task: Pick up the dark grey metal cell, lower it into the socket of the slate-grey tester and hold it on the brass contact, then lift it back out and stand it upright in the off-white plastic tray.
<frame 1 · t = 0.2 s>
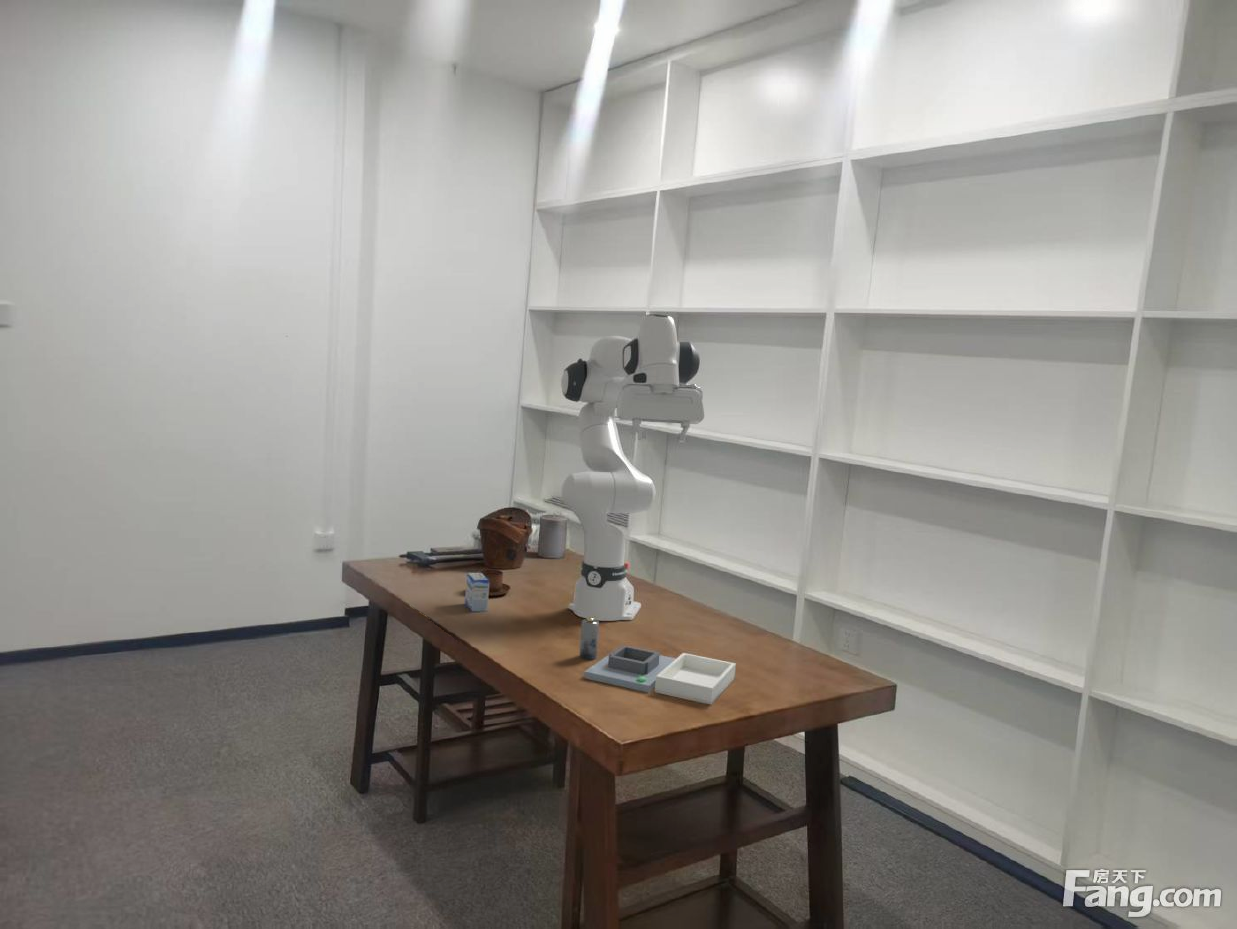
hand: (661, 440, 199), 51 cm above the table, tool tilted 20°, fingers open, 8 cm apart
tester cradle: (633, 671, 198), on the table
cell: (588, 657, 205), on the table
pillar candle: (551, 556, 308), on the table
medicine box: (476, 608, 238), on the table
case: (502, 565, 289), on the table
cup and saucer: (488, 594, 254), on the table
tray: (695, 685, 192), on the table
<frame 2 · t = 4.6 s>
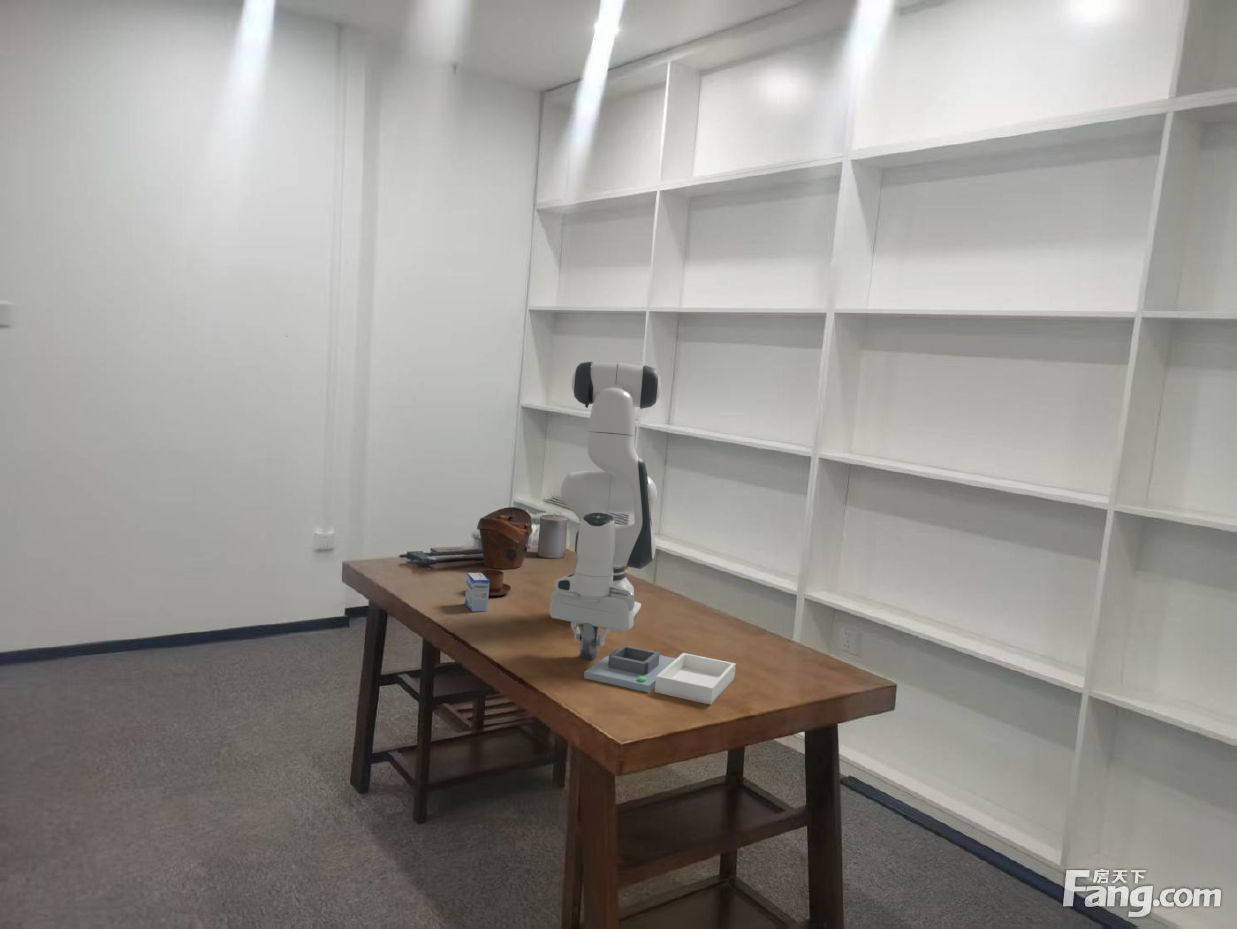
hand: (589, 642, 205), 3 cm above the table, tool pointing down, fingers closed on cell, 4 cm apart
cell: (588, 657, 205), on the table, touching gripper
everything else where it was.
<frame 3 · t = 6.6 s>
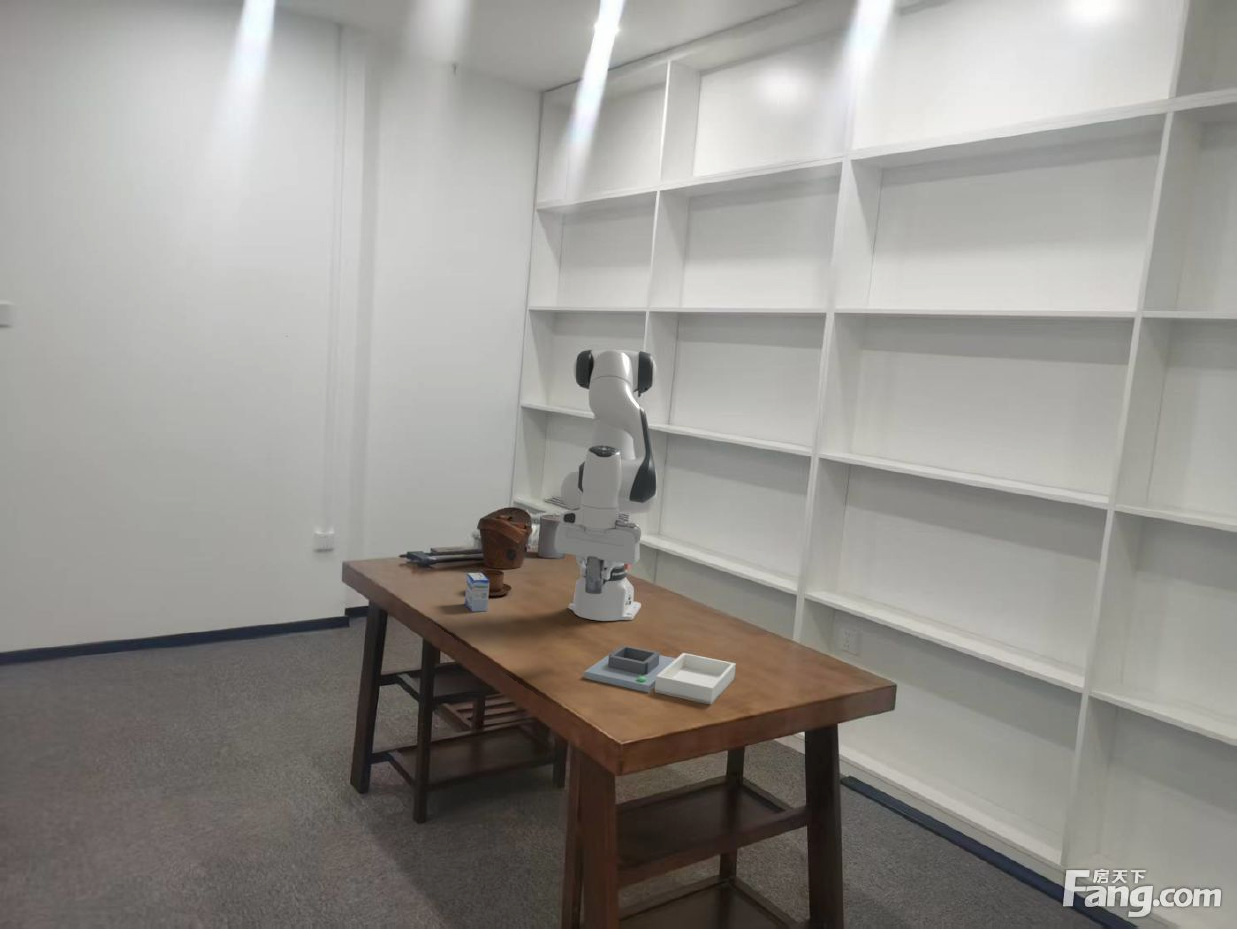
hand: (594, 577, 203), 19 cm above the table, tool pointing down, fingers closed on cell, 4 cm apart
cell: (593, 591, 203), point 16 cm above the table, touching gripper
everything else where it was.
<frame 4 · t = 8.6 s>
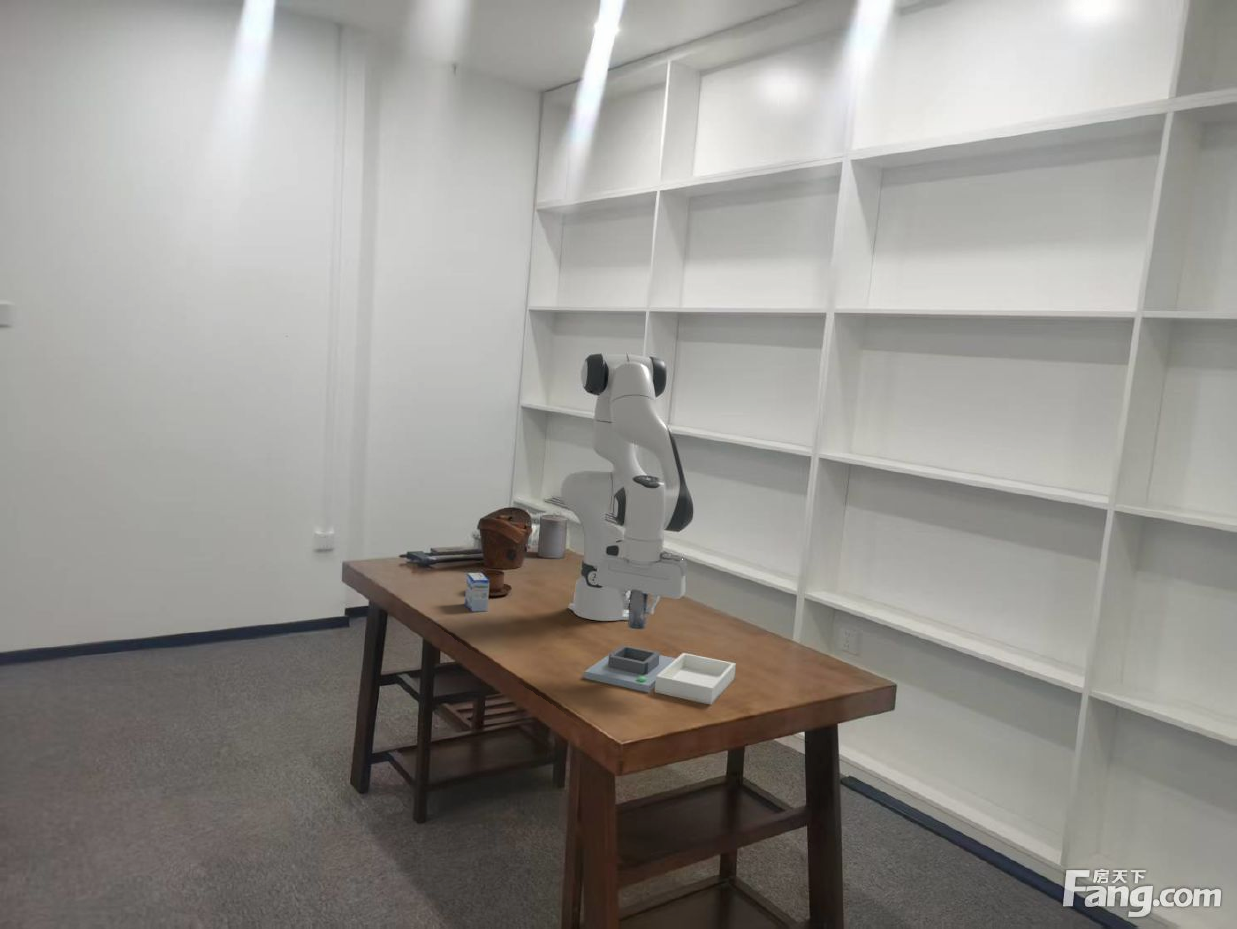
hand: (638, 611, 196), 14 cm above the table, tool pointing down, fingers closed on cell, 4 cm apart
cell: (636, 626, 196), point 10 cm above the table, touching gripper
everything else where it was.
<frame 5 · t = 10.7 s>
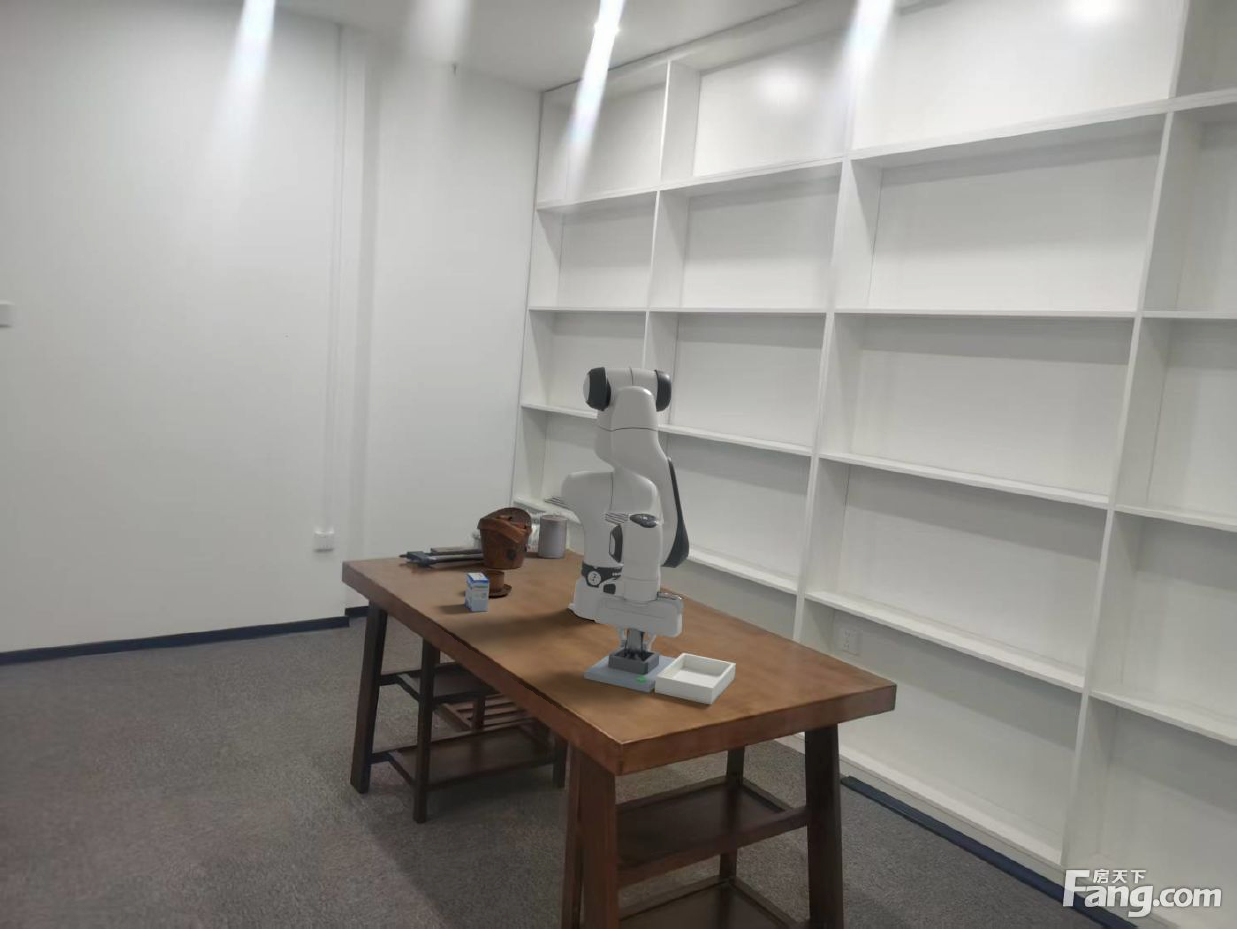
hand: (634, 648, 197), 5 cm above the table, tool pointing down, fingers closed on cell, 4 cm apart
cell: (633, 663, 197), point 2 cm above the table, touching gripper
everything else where it was.
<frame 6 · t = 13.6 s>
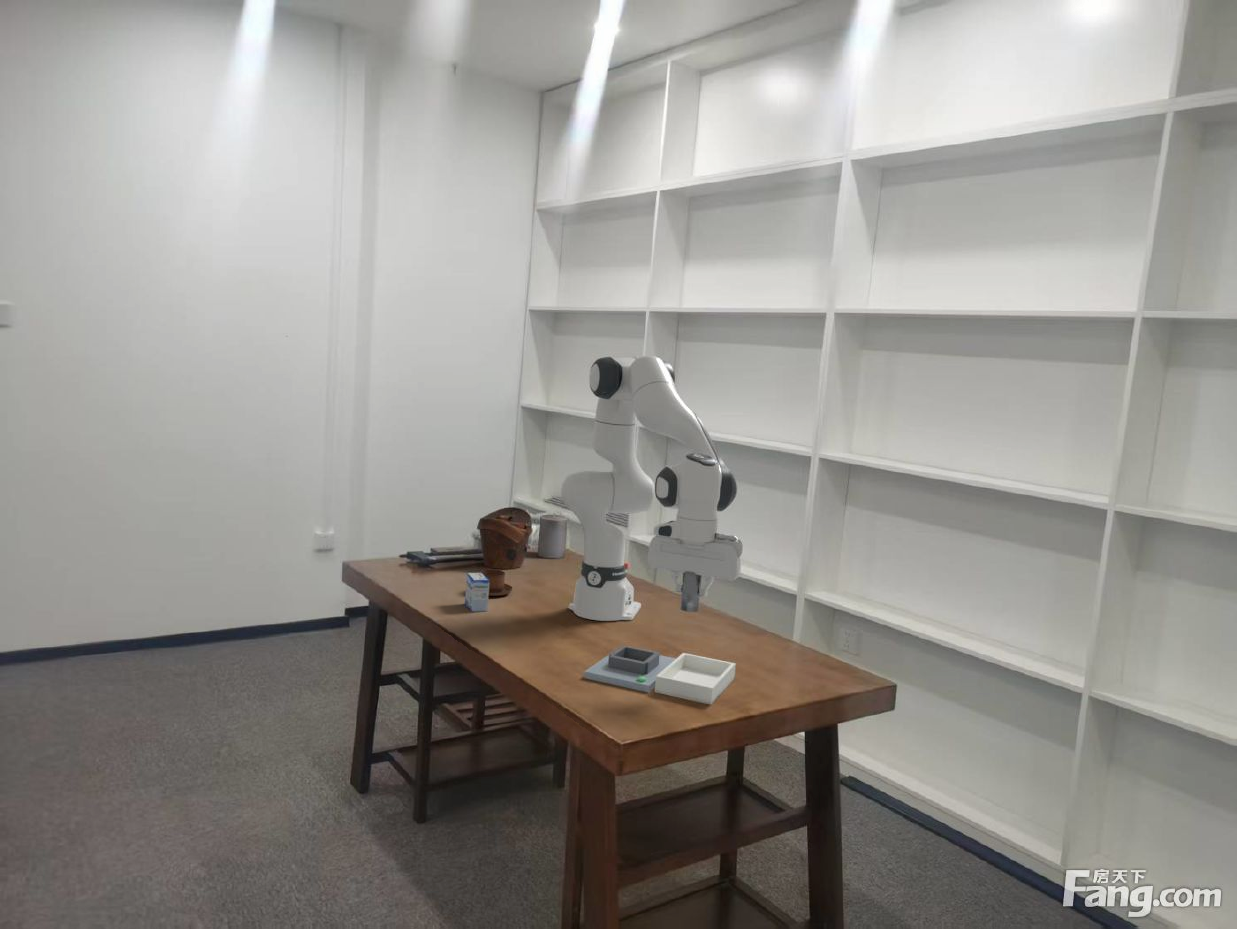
hand: (691, 594, 190), 20 cm above the table, tool pointing down, fingers closed on cell, 4 cm apart
cell: (689, 609, 190), point 17 cm above the table, touching gripper
everything else where it was.
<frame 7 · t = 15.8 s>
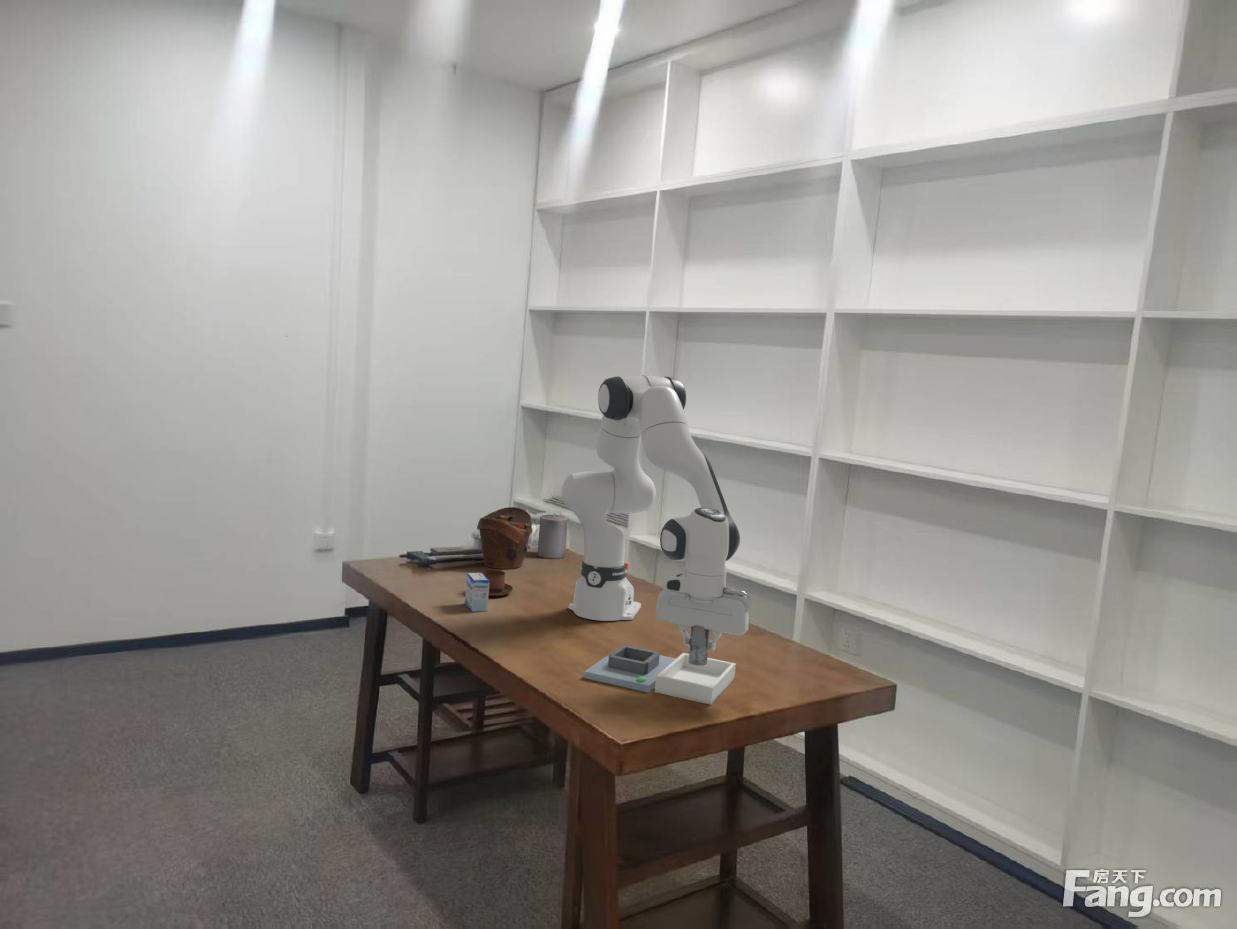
hand: (699, 647, 191), 9 cm above the table, tool pointing down, fingers closed on cell, 4 cm apart
cell: (697, 662, 191), point 5 cm above the table, touching gripper
everything else where it was.
when the fingers open (5 cm above the table, at t = 16.9 s): cell drops 1 cm, resting on tray.
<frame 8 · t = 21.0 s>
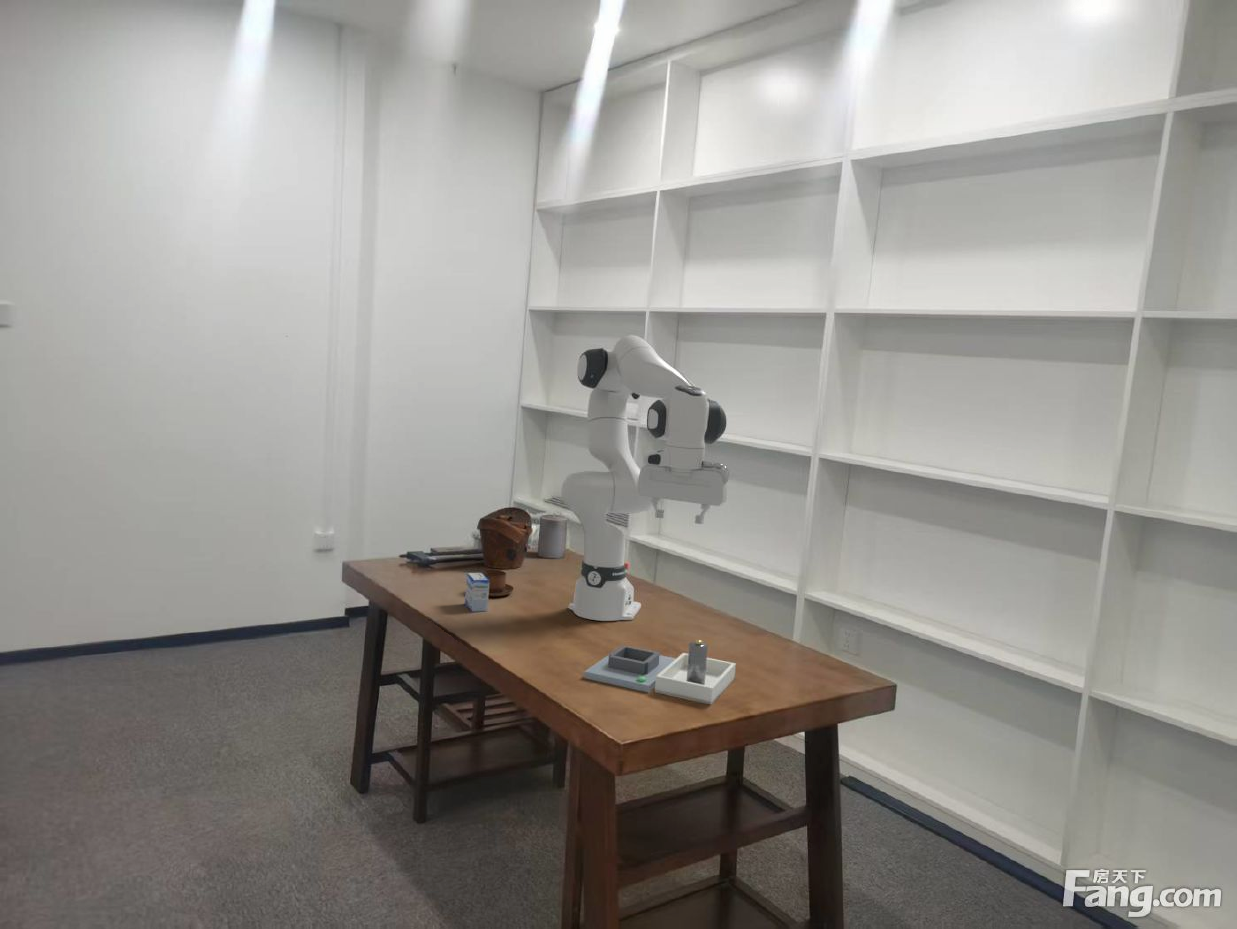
hand: (679, 520, 198), 34 cm above the table, tool pointing down, fingers open, 8 cm apart
cell: (695, 682, 192), point 1 cm above the table, touching tray
at the end: cell inside the target area on the tray (0.1 cm from its centre), point 0.6 cm above the tray's base; cell tilted 1°; the gripper is holding nothing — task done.
